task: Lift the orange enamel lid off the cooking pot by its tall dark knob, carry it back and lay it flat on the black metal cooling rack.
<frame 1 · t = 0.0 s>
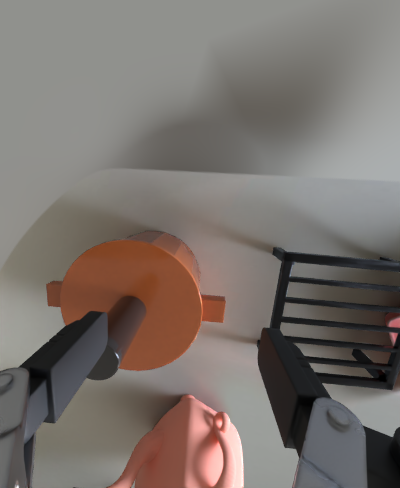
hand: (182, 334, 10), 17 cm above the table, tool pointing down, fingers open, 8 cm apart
lid: (132, 307, 19), point 8 cm above the table, touching pot
teapot: (191, 420, 32), on the table
pot: (155, 275, 27), on the table
rack: (318, 304, 27), on the table
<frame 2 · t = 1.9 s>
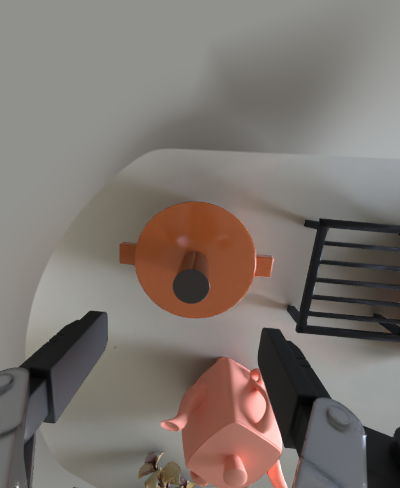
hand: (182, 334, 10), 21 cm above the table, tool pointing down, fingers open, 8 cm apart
lid: (195, 262, 22), point 8 cm above the table, touching pot
teapot: (224, 382, 36), on the table
artificial flower: (203, 483, 41), on the table
pot: (198, 246, 30), on the table
rack: (343, 271, 31), on the table
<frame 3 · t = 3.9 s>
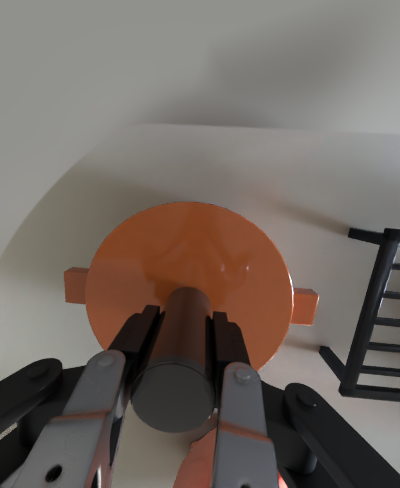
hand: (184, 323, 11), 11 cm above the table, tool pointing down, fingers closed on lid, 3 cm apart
lid: (188, 304, 13), point 9 cm above the table, touching gripper, pot
teapot: (231, 443, 27), on the table
pot: (195, 264, 21), on the table
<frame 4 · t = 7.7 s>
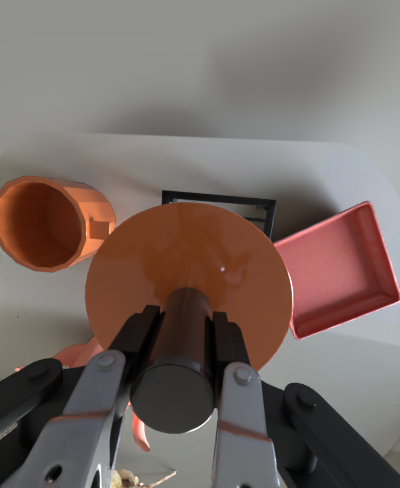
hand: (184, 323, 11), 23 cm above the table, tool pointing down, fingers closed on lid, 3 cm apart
lid: (188, 304, 13), point 21 cm above the table, touching gripper
teapot: (121, 349, 39), on the table
plant saucer: (318, 269, 34), on the table
artificial flower: (115, 447, 44), on the table
pot: (80, 220, 34), on the table
rack: (212, 243, 34), on the table
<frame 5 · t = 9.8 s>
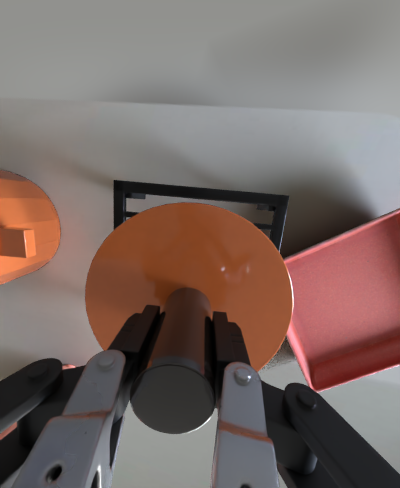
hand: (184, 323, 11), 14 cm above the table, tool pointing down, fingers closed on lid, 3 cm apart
lid: (188, 304, 13), point 11 cm above the table, touching gripper
plant saucer: (343, 293, 25), on the table
pot: (10, 224, 24), on the table
rack: (196, 257, 24), on the table
when the fingers open (8 cm above the table, at t = 11.4 s): lid stays where it is, resting on rack.
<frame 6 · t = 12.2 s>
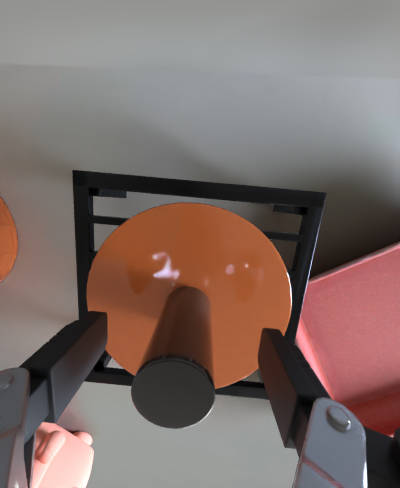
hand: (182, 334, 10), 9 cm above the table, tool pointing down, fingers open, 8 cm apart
lid: (188, 303, 13), point 6 cm above the table, touching rack
teapot: (47, 439, 24), on the table
plant saucer: (382, 319, 19), on the table
rack: (193, 273, 19), on the table
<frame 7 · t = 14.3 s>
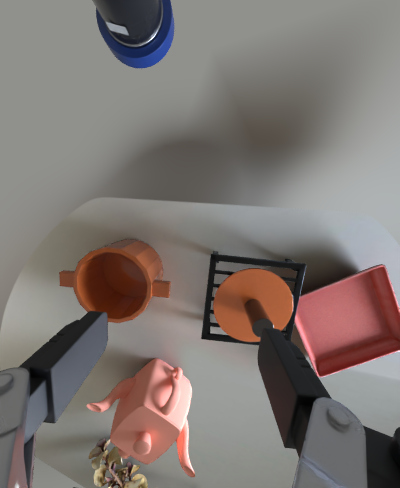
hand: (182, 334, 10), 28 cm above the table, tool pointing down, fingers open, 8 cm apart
lid: (252, 305, 34), point 6 cm above the table, touching rack
teapot: (159, 379, 44), on the table
plant saucer: (337, 315, 40), on the table
artificial flower: (148, 467, 49), on the table
pot: (132, 269, 39), on the table
rack: (245, 291, 39), on the table
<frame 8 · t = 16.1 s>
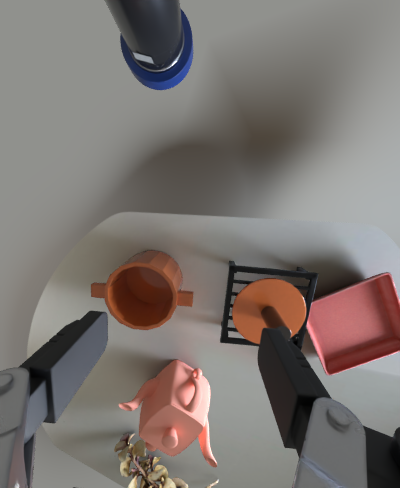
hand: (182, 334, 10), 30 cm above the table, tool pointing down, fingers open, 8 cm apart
lid: (268, 311, 36), point 6 cm above the table, touching rack
teapot: (178, 378, 47), on the table
plant saucer: (344, 317, 42), on the table
artificial flower: (167, 459, 52), on the table
pot: (153, 278, 42), on the table
rack: (259, 297, 42), on the table
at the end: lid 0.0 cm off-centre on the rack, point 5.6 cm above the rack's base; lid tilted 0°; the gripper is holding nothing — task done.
